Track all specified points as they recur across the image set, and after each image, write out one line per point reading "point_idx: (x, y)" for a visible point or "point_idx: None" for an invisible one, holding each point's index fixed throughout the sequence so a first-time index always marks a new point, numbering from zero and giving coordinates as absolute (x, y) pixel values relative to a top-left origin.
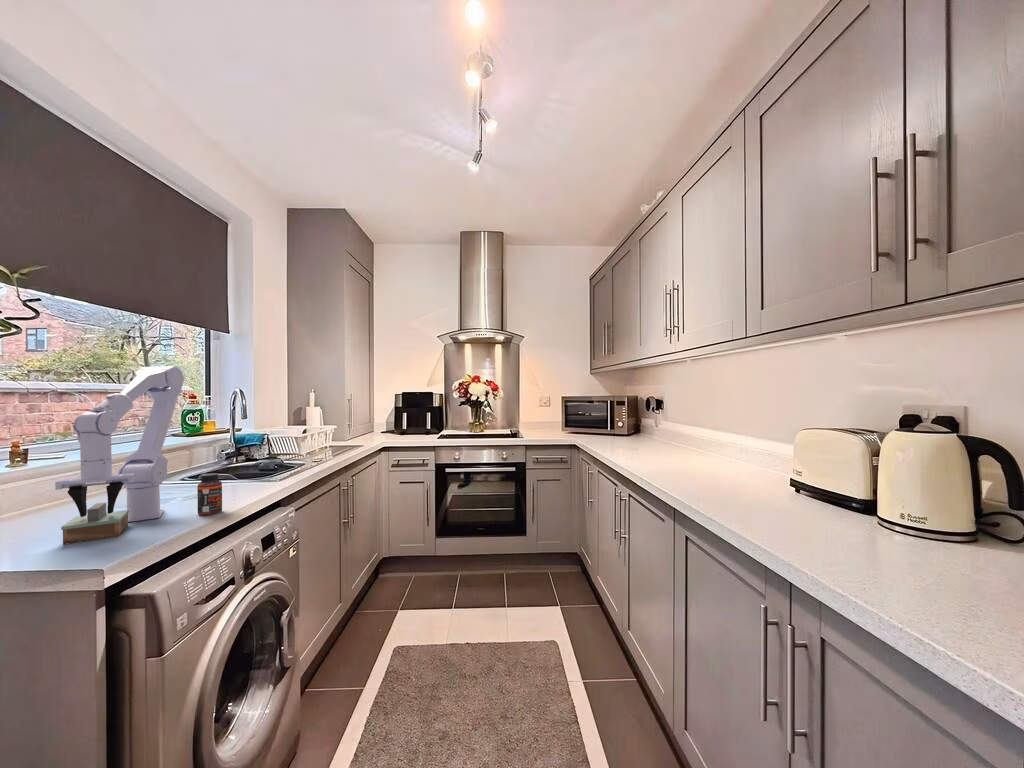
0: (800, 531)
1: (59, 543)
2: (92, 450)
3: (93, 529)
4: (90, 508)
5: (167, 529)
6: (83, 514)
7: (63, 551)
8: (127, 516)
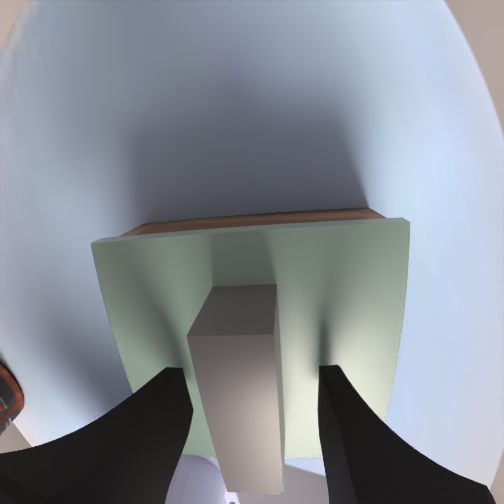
0: None
1: None
2: None
3: (234, 226)
4: (262, 371)
5: (12, 240)
6: (322, 372)
7: (315, 60)
8: None
